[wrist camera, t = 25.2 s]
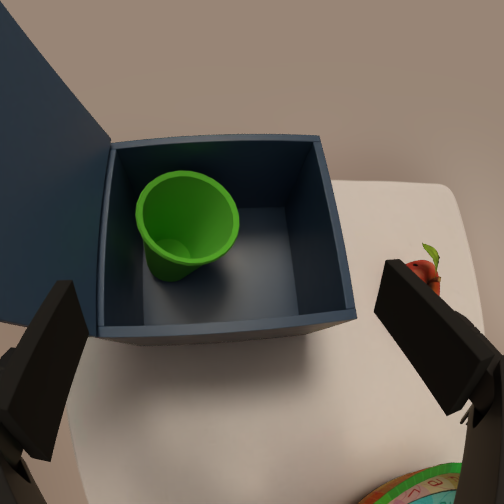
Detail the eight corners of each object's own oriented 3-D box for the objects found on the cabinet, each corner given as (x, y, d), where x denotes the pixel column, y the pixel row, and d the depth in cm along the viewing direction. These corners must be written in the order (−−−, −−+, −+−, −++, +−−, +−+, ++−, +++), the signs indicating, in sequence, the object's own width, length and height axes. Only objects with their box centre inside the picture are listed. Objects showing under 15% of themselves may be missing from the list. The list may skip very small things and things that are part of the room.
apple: (426, 293, 39) (473, 274, 30) (403, 332, 37) (451, 321, 28) (390, 257, 40) (431, 229, 31) (364, 294, 38) (405, 273, 29)
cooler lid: (-21, -30, 6) (-30, -22, 6) (-192, 250, 1) (-191, 254, 1) (111, 138, 25) (104, 141, 25) (96, 336, 20) (88, 337, 20)
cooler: (288, 204, 41) (319, 135, 28) (306, 334, 36) (357, 318, 23) (139, 211, 39) (109, 143, 25) (139, 346, 33) (94, 337, 20)
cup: (219, 249, 38) (255, 203, 29) (185, 314, 34) (213, 285, 25) (155, 212, 37) (171, 153, 28) (114, 272, 32) (114, 226, 23)
